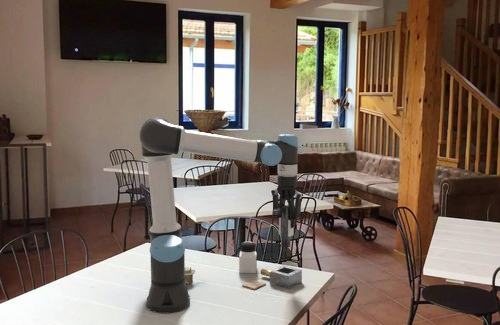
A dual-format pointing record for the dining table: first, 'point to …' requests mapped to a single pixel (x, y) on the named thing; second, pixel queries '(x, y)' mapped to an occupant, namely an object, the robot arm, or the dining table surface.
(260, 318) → the dining table surface
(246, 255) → the medicine bottle
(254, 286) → the copper plate
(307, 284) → the dining table surface
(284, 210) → the chuck key
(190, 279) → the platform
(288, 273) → the block
